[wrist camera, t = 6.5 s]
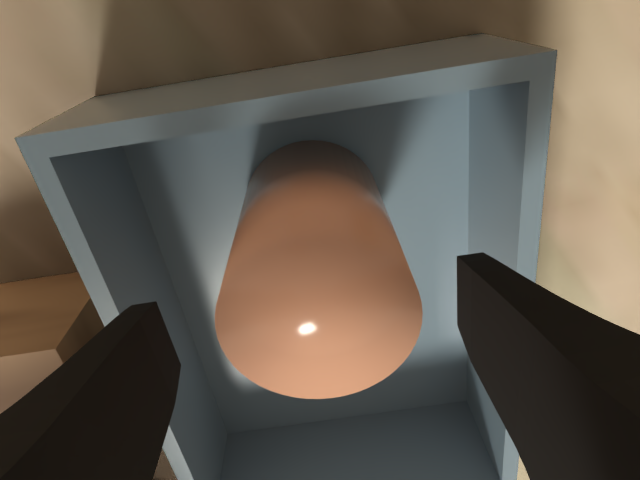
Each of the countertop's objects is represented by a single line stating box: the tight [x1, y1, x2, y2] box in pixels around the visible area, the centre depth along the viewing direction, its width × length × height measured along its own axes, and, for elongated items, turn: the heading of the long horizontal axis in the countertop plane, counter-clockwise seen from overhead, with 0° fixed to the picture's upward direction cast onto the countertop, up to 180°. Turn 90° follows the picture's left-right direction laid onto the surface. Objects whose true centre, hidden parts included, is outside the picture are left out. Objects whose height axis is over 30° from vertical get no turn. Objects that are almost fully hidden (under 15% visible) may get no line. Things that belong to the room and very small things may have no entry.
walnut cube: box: [0, 272, 104, 414], centre depth 18 cm, size 5×5×5 cm
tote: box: [15, 33, 557, 480], centre depth 17 cm, size 17×13×5 cm
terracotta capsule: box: [215, 140, 423, 399], centre depth 14 cm, size 5×5×7 cm
